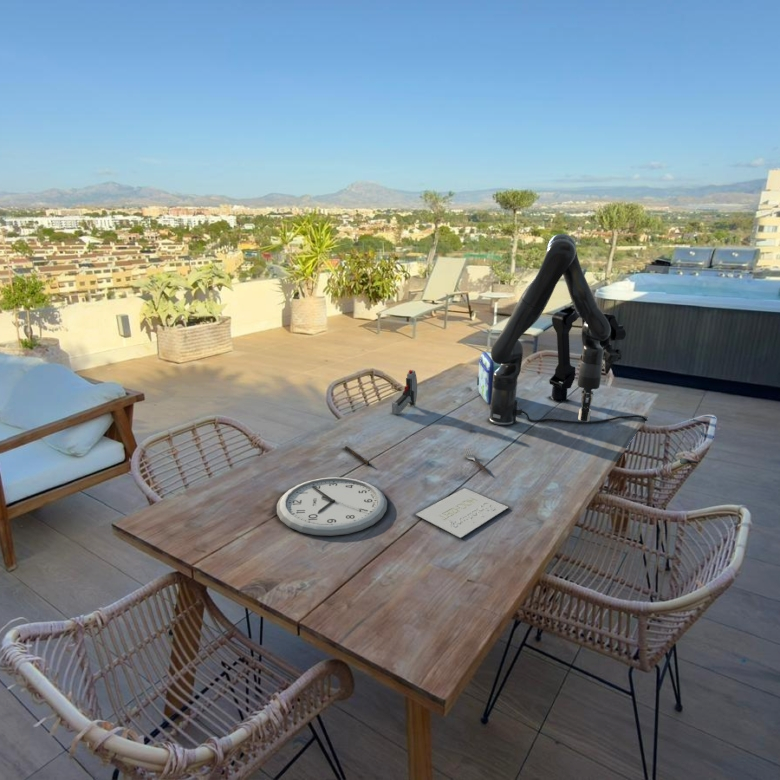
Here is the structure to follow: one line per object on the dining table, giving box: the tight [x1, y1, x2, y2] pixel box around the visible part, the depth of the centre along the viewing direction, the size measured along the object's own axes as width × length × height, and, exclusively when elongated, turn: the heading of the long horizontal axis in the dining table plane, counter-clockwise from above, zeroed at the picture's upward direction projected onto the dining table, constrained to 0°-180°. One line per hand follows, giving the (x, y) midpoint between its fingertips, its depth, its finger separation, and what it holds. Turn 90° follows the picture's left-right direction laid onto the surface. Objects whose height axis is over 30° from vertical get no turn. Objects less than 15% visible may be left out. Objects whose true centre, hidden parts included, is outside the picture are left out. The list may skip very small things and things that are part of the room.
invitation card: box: [414, 487, 509, 539], centre depth 141 cm, size 21×1×15 cm
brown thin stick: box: [344, 445, 370, 465], centre depth 173 cm, size 15×1×1 cm, turn 34°
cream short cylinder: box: [577, 407, 592, 422], centre depth 193 cm, size 4×4×4 cm
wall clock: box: [276, 476, 388, 537], centre depth 142 cm, size 30×2×30 cm
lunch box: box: [476, 351, 501, 406], centre depth 230 cm, size 26×11×21 cm, turn 179°
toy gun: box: [391, 369, 418, 415], centre depth 216 cm, size 2×16×15 cm
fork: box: [463, 448, 488, 474], centre depth 169 cm, size 3×16×2 cm, turn 15°
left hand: (583, 418), depth 194 cm, fingers closed on cream short cylinder, 4 cm apart
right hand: (598, 374), depth 241 cm, fingers open, 9 cm apart
